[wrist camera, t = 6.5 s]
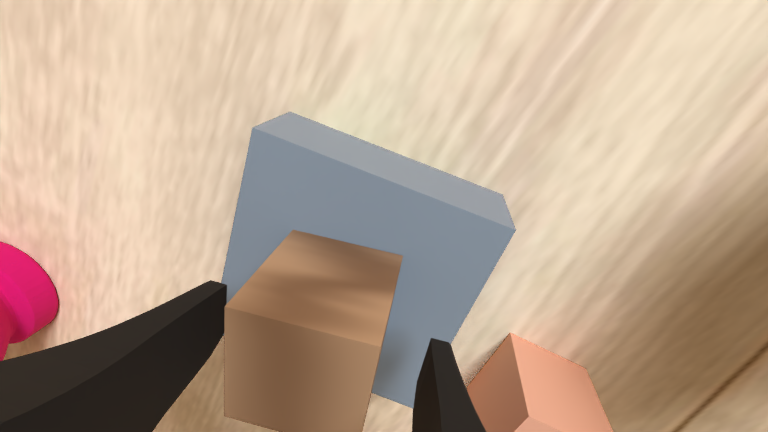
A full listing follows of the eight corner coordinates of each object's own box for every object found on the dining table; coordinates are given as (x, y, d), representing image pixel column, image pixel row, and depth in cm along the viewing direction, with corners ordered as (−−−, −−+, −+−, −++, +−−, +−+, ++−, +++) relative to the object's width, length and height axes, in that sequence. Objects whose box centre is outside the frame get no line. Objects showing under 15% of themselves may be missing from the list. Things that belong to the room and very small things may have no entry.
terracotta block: (585, 367, 20) (626, 461, 16) (536, 418, 22) (560, 515, 17) (509, 331, 20) (528, 416, 15) (467, 385, 22) (472, 475, 17)
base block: (501, 191, 17) (516, 229, 14) (419, 347, 22) (413, 408, 18) (292, 110, 17) (252, 127, 14) (251, 283, 22) (211, 331, 18)
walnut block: (403, 255, 15) (380, 347, 10) (383, 343, 17) (357, 453, 12) (292, 229, 15) (224, 306, 11) (285, 317, 17) (223, 416, 12)
